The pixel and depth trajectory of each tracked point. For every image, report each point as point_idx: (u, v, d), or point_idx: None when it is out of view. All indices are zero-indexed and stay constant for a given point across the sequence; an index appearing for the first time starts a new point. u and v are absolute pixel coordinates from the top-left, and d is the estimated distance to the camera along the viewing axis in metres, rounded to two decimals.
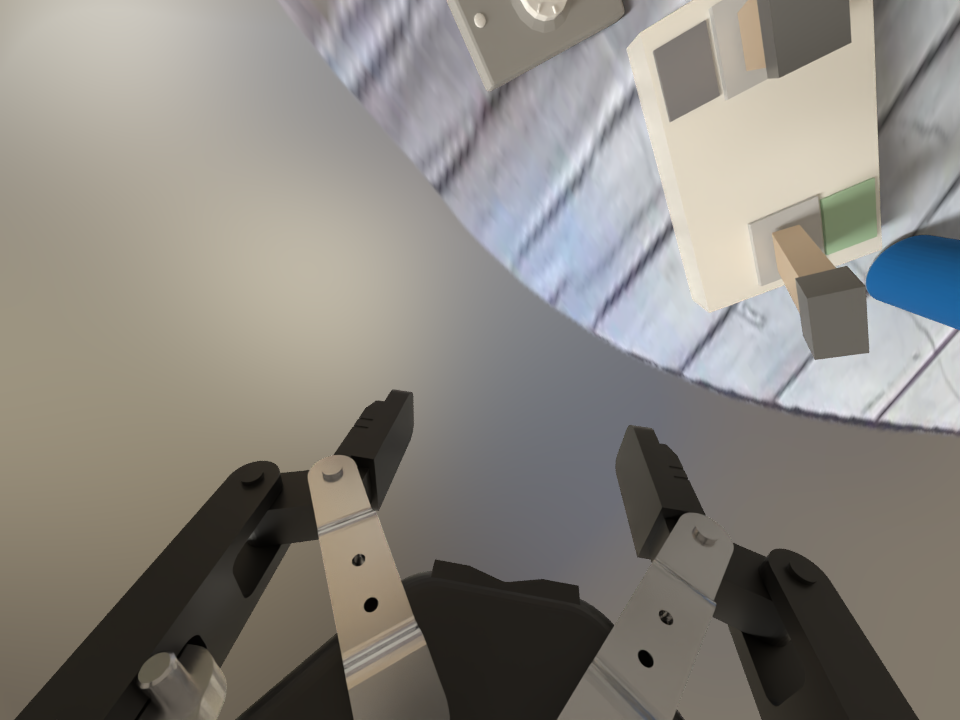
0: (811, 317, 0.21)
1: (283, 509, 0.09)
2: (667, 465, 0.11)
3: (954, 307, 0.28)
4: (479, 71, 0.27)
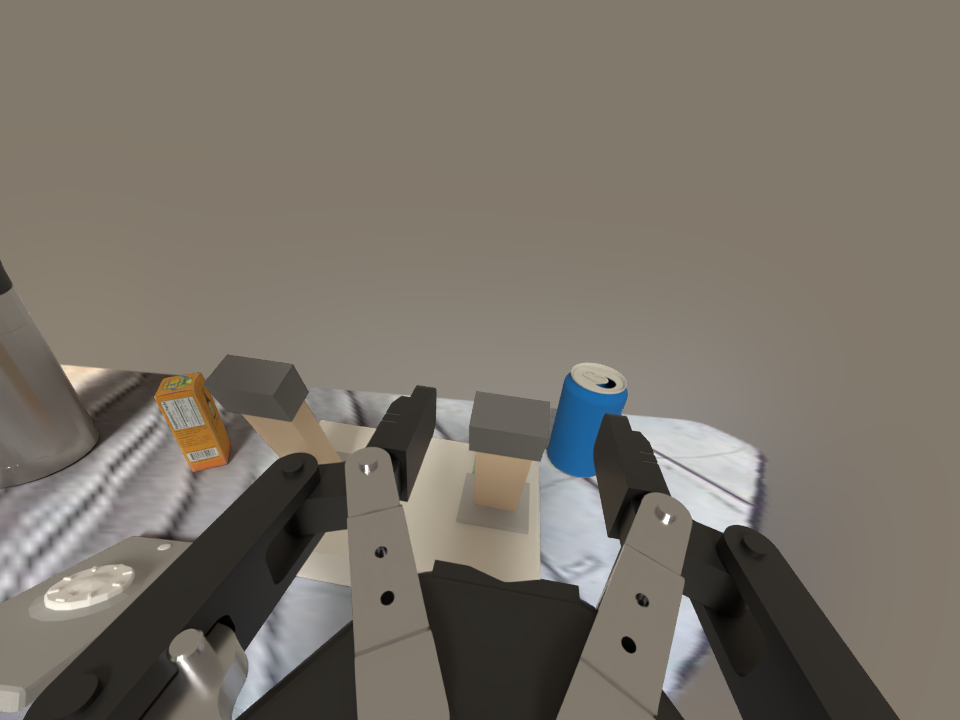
0: (493, 428, 0.20)
1: (322, 499, 0.09)
2: (637, 450, 0.11)
3: (590, 417, 0.36)
4: None
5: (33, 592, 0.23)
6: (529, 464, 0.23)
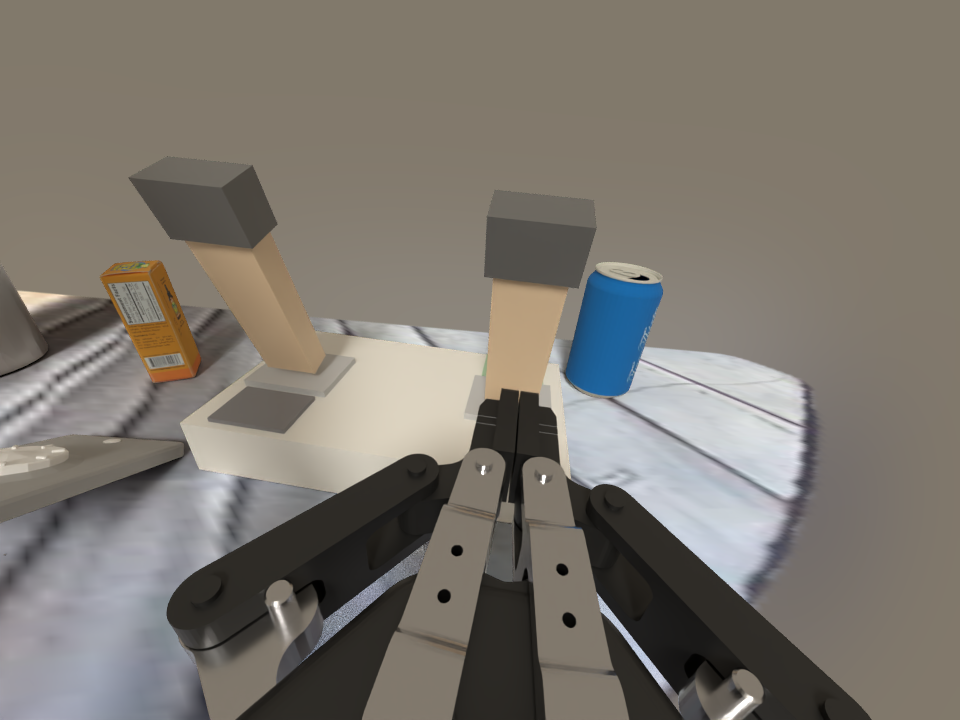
0: (520, 218, 0.15)
1: (446, 499, 0.10)
2: (537, 421, 0.12)
3: (620, 314, 0.30)
4: None
5: None
6: (562, 303, 0.18)
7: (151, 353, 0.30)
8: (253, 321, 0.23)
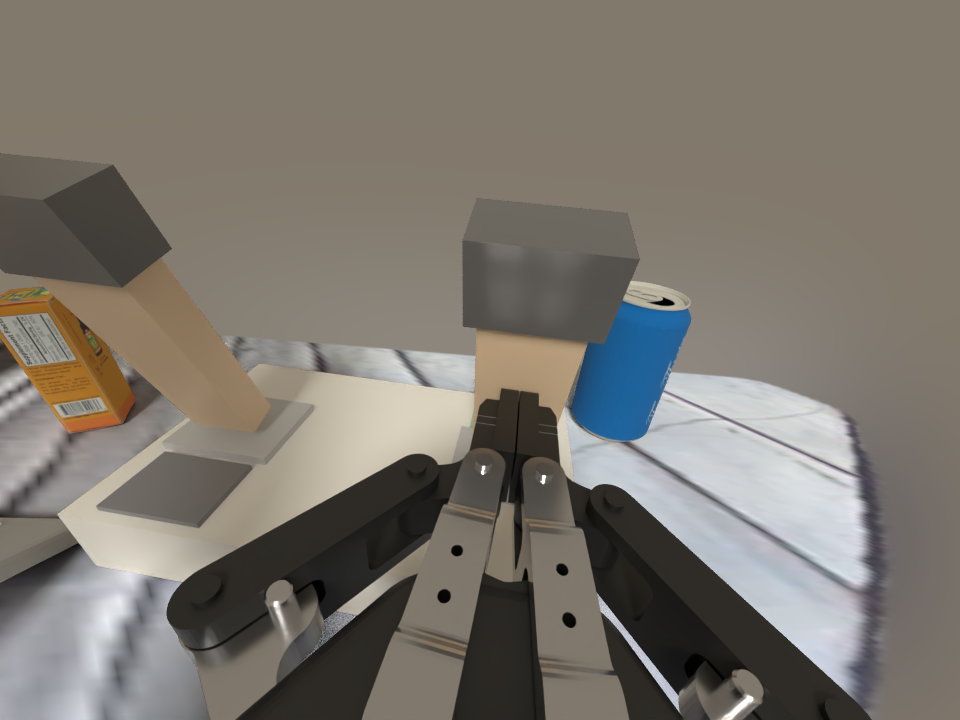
0: (515, 244, 0.09)
1: (446, 499, 0.10)
2: (537, 421, 0.12)
3: (640, 347, 0.25)
4: None
5: None
6: (578, 361, 0.12)
7: (61, 399, 0.25)
8: (159, 374, 0.17)
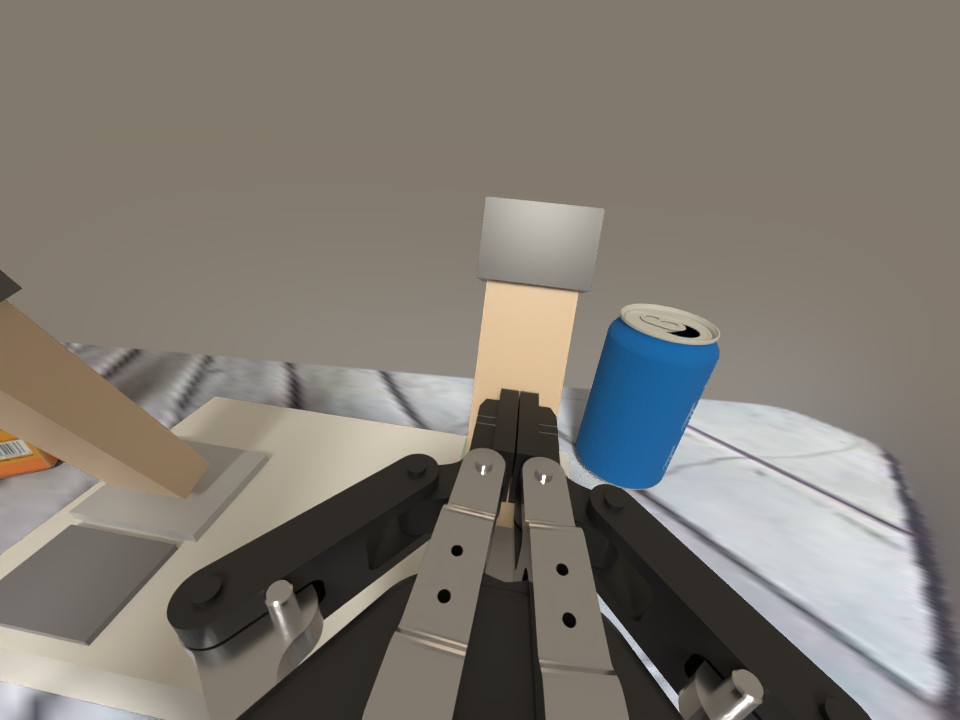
0: (522, 200, 0.14)
1: (446, 499, 0.10)
2: (537, 422, 0.12)
3: (659, 386, 0.21)
4: None
5: None
6: (571, 321, 0.14)
7: None
8: (43, 441, 0.13)
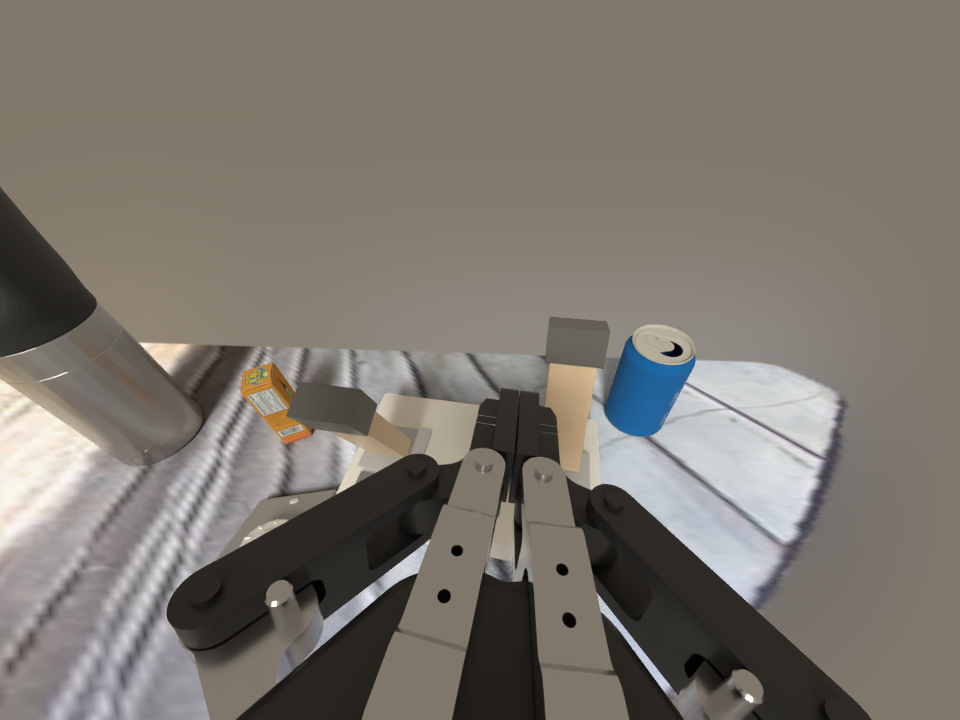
0: (567, 327, 0.27)
1: (446, 499, 0.10)
2: (537, 421, 0.12)
3: (653, 386, 0.35)
4: None
5: (228, 552, 0.30)
6: (593, 380, 0.28)
7: (281, 428, 0.41)
8: (363, 444, 0.31)
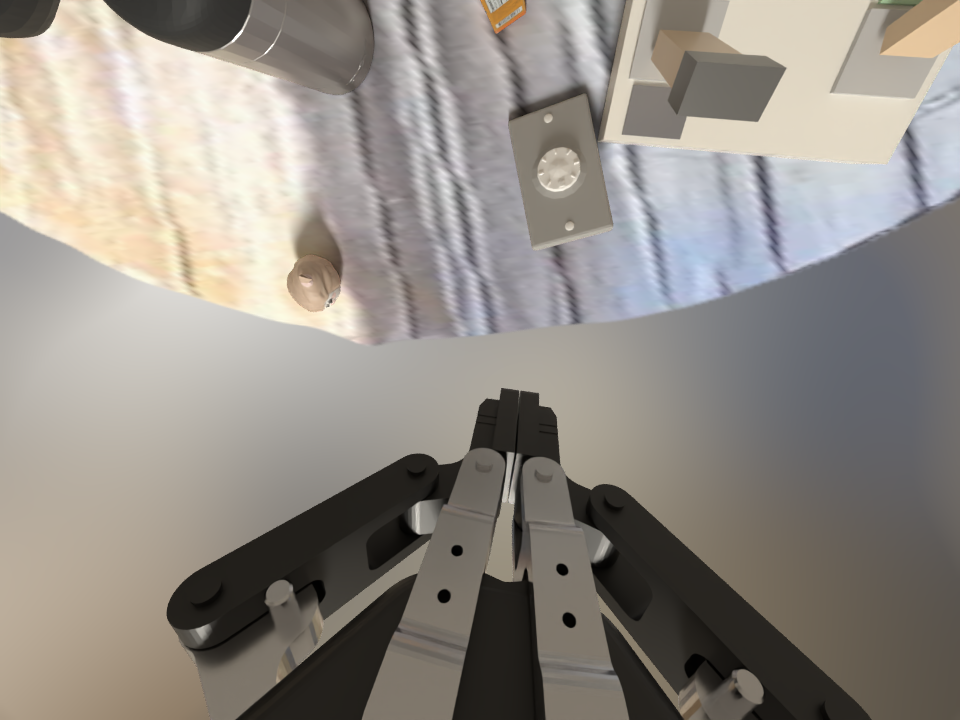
0: None
1: (446, 499, 0.10)
2: (537, 421, 0.12)
3: None
4: (597, 233, 0.35)
5: (528, 187, 0.35)
6: None
7: (501, 19, 0.31)
8: None
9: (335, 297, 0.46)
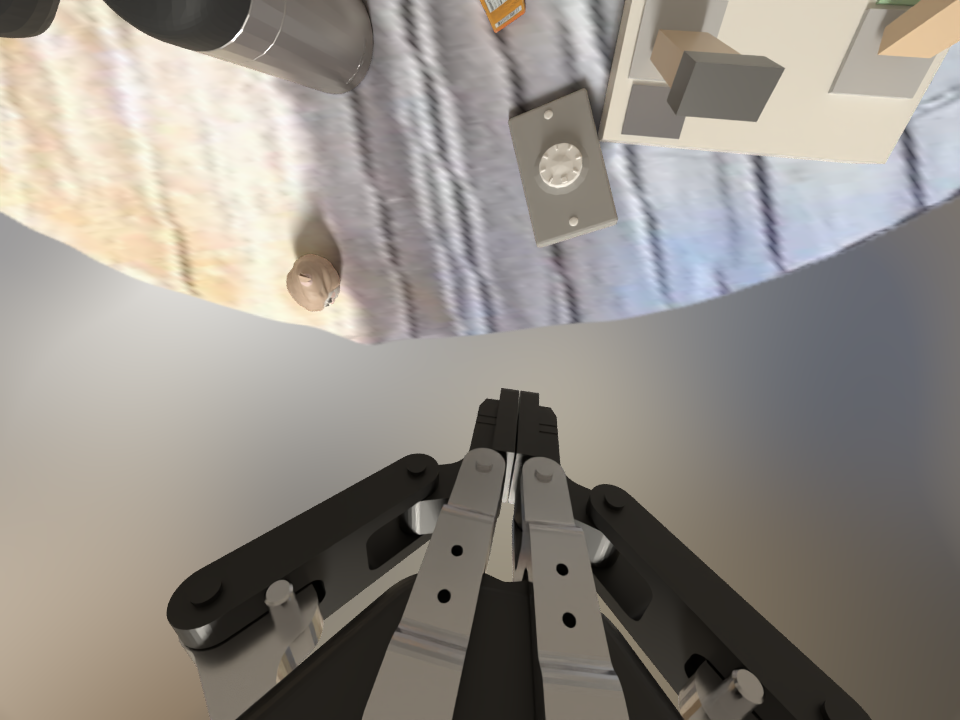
0: None
1: (446, 499, 0.10)
2: (537, 421, 0.12)
3: None
4: (602, 228, 0.34)
5: (530, 184, 0.35)
6: None
7: (500, 18, 0.31)
8: None
9: (334, 296, 0.46)
